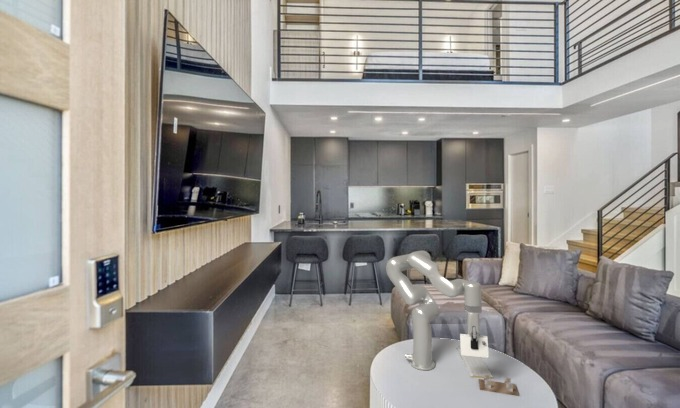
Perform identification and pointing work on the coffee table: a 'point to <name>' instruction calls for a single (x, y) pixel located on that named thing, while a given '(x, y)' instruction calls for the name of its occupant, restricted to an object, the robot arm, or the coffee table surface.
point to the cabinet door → (467, 351)
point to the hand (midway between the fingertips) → (474, 347)
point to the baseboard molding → (475, 366)
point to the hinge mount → (498, 386)
